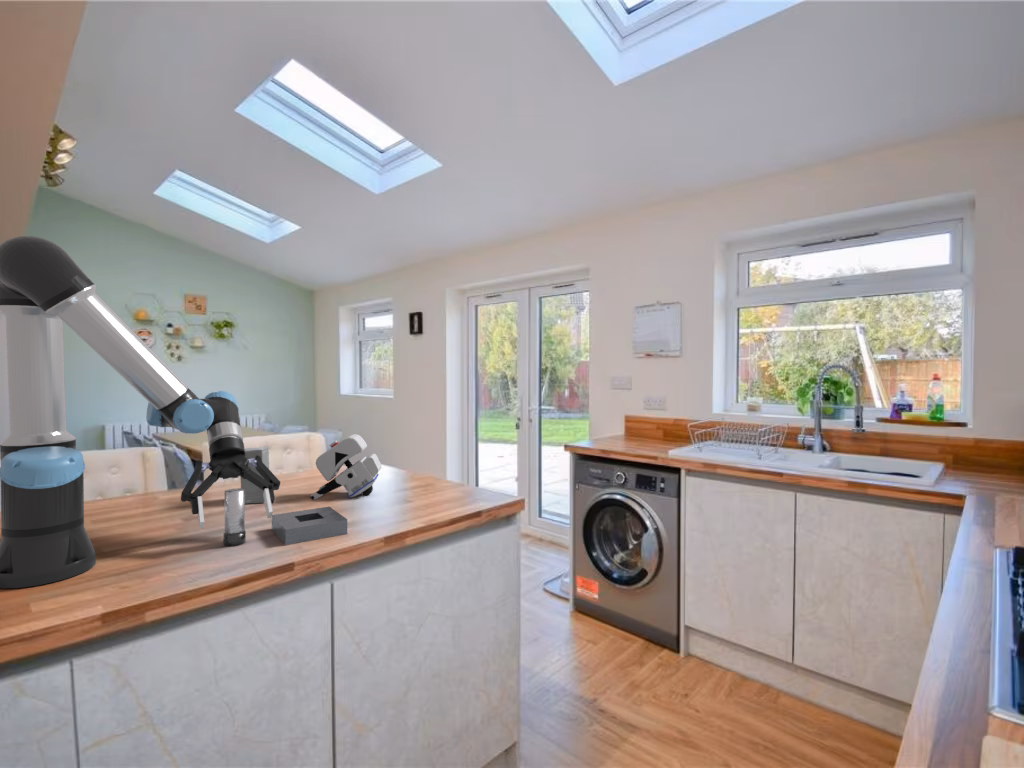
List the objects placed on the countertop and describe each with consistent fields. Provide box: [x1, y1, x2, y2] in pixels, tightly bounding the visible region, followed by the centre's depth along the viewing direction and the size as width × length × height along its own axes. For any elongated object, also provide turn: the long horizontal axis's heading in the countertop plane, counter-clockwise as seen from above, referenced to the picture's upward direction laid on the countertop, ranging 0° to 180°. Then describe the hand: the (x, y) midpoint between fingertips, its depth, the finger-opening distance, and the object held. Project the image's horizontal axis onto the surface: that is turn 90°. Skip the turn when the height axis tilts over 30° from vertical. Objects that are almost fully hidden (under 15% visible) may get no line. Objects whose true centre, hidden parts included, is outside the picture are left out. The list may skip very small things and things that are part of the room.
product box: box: [239, 446, 270, 505], centre depth 151 cm, size 8×7×16 cm
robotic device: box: [310, 433, 382, 501], centre depth 159 cm, size 10×21×20 cm
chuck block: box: [271, 506, 348, 546], centre depth 123 cm, size 14×14×4 cm
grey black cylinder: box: [222, 488, 247, 547], centre depth 114 cm, size 4×4×12 cm
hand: (237, 520), depth 113 cm, fingers open, 13 cm apart
